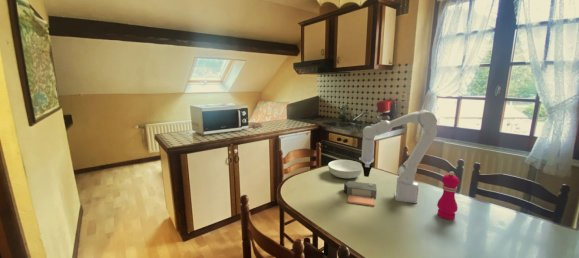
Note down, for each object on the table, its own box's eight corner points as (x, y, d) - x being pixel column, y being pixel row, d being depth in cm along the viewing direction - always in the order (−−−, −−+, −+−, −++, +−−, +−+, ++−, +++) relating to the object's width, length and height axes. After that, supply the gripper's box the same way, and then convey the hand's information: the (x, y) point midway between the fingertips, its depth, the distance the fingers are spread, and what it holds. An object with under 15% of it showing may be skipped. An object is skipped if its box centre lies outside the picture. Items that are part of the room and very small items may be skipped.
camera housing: (375, 192, 125) (375, 183, 124) (375, 199, 117) (376, 189, 116) (344, 188, 129) (345, 179, 129) (343, 194, 122) (343, 185, 121)
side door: (374, 198, 116) (374, 204, 110) (373, 199, 117) (374, 206, 110) (348, 194, 120) (347, 200, 113) (348, 196, 120) (347, 202, 114)
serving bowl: (327, 169, 159) (327, 159, 158) (359, 170, 156) (360, 160, 155) (328, 181, 139) (328, 170, 138) (365, 183, 136) (366, 171, 135)
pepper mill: (453, 213, 105) (459, 169, 101) (458, 221, 98) (465, 175, 94) (434, 210, 107) (439, 167, 103) (438, 218, 100) (444, 173, 97)
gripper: (359, 146, 127) (358, 170, 130) (359, 153, 114) (357, 180, 116) (373, 147, 125) (372, 171, 128) (374, 155, 112) (373, 182, 114)
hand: (366, 176), depth 122 cm, fingers closed
